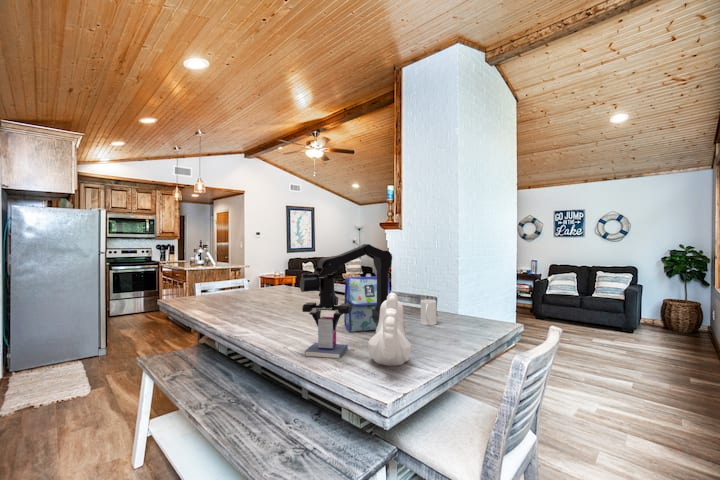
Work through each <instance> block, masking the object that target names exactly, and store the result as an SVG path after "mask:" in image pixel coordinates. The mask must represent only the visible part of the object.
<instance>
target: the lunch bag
mask: <svg viewBox="0 0 720 480" xmlns="http://www.w3.org/2000/svg"><path fill="white" fill-rule="evenodd" d="M390 293H392V292H391V288H390V281H389V278H388V295H389V294H390ZM343 304H351V306H352V311H351V312H350V313H349V314H343V315H344V317H343V318H344V319H343V320H344V321H343V323H344V327H346V329H347V331H348V332H349V333H352V332H361V331H364V332H366V331H367V332H368V331H376V329H377V326H376V324H375V323H374V321H373V318H372V309H375V308H376V306H377V276H351V277H345V287H344V303H343Z"/></svg>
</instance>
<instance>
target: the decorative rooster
mask: <svg viewBox="0 0 720 480" xmlns="http://www.w3.org/2000/svg"><path fill="white" fill-rule="evenodd" d="M405 335H406V333H405V330H404V306H403V304H402V303H401V302H400V301H399V298H398V295H397V294H396V293H395V292H391V293H390V294H389V295H388V296H387V300H385V301H384V302H383V303H382V304H381V307H380V316H379V323H378V326H377V329H376V330H375V334H374V335H373V336H372V337H371V338H370V339H369V340H368V341H367V352H368V356H369V358H371V359H373V361H374V362H375V363H377V364H379V365H384V366H386V367H395V366H402V365H403V364H404V363H406V362H408V361H409V360H410V357H411V355H412V354H411V353H412V345H411V343H410V341H409V340H408V339H407V338H406V337H405Z"/></svg>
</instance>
